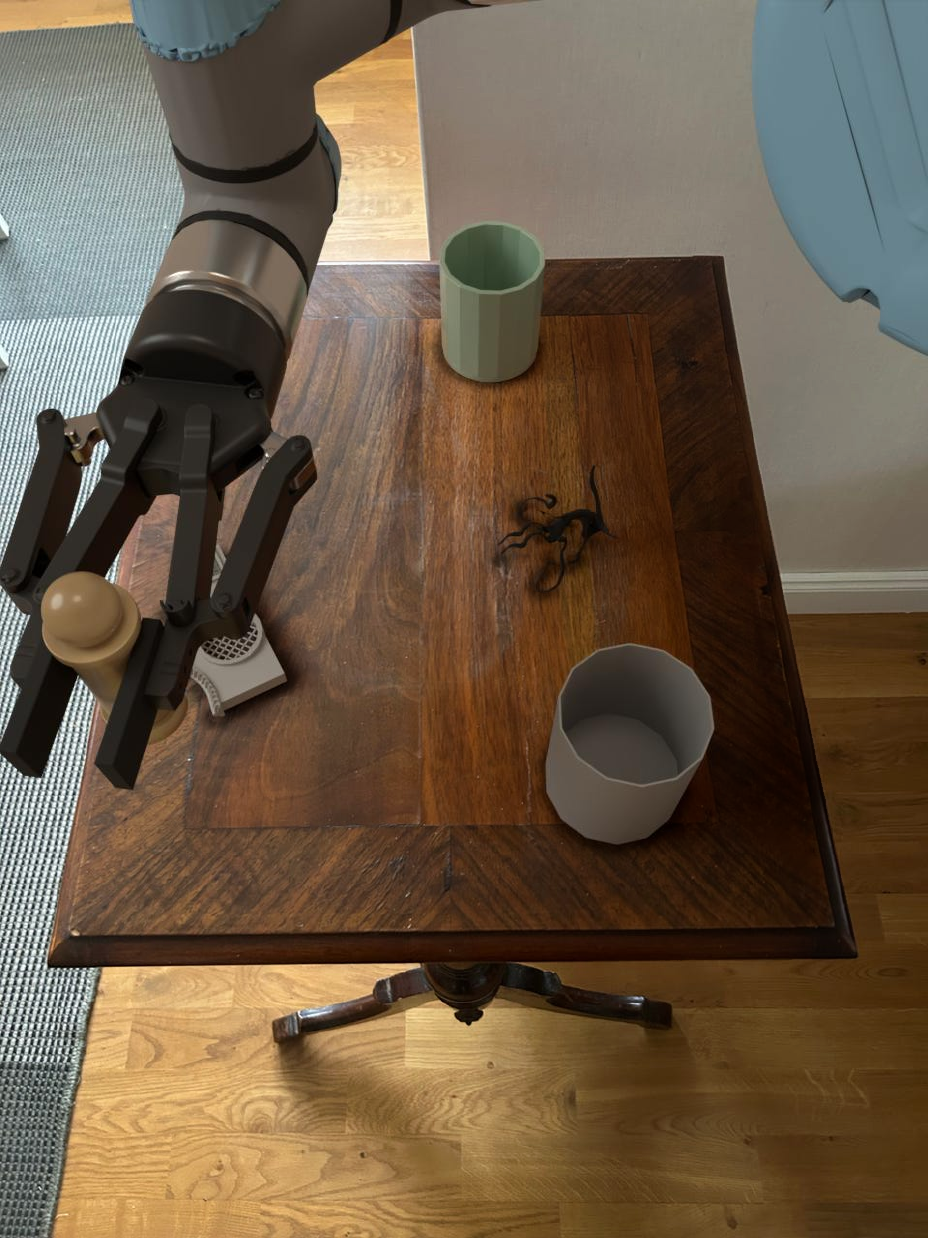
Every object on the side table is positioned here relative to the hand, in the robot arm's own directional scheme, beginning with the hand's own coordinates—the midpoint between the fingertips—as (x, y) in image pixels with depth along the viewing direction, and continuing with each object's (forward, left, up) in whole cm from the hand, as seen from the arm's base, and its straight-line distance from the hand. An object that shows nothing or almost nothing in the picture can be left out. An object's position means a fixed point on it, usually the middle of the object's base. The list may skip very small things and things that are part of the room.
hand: (67, 770), depth 40 cm
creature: (-20, -26, -22) cm, 40 cm away
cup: (-24, -9, -22) cm, 34 cm away
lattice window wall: (-1, -20, -21) cm, 29 cm away
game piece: (0, -5, -6) cm, 8 cm away
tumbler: (-15, -45, -22) cm, 53 cm away
